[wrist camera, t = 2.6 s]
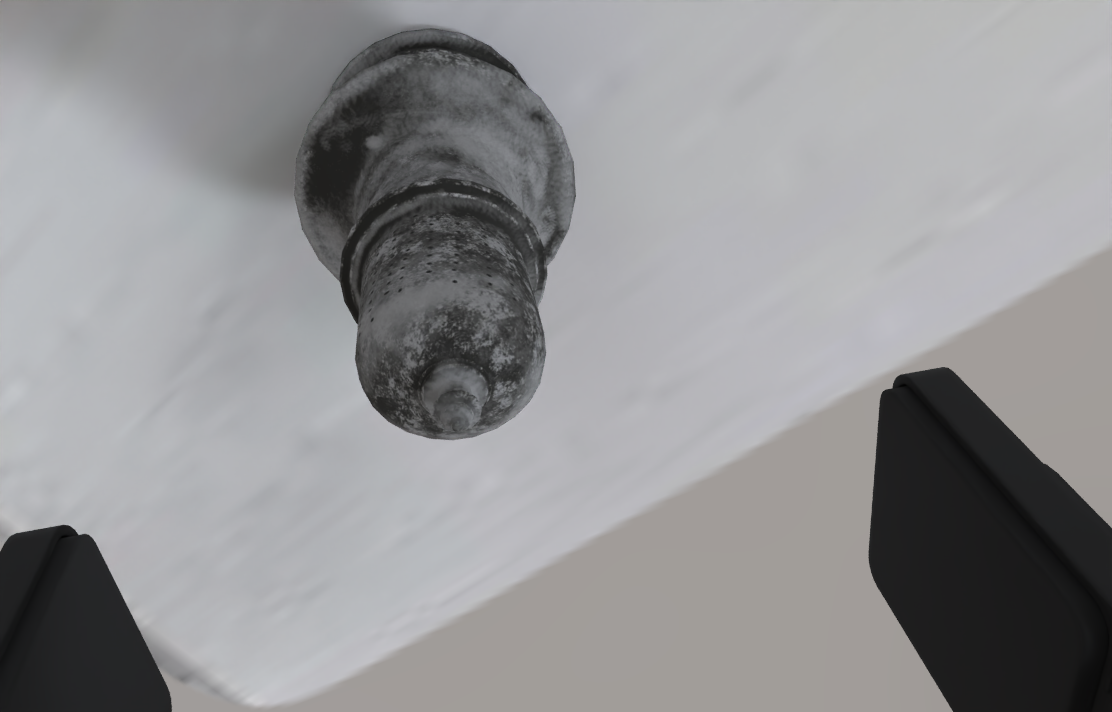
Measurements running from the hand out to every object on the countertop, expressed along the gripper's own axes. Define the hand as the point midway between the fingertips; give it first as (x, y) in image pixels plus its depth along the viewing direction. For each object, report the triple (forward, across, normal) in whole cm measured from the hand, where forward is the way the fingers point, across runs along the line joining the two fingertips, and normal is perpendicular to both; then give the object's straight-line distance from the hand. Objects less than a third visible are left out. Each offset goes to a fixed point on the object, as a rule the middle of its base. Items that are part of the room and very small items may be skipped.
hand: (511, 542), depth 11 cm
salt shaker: (+14, 0, -1) cm, 14 cm away
